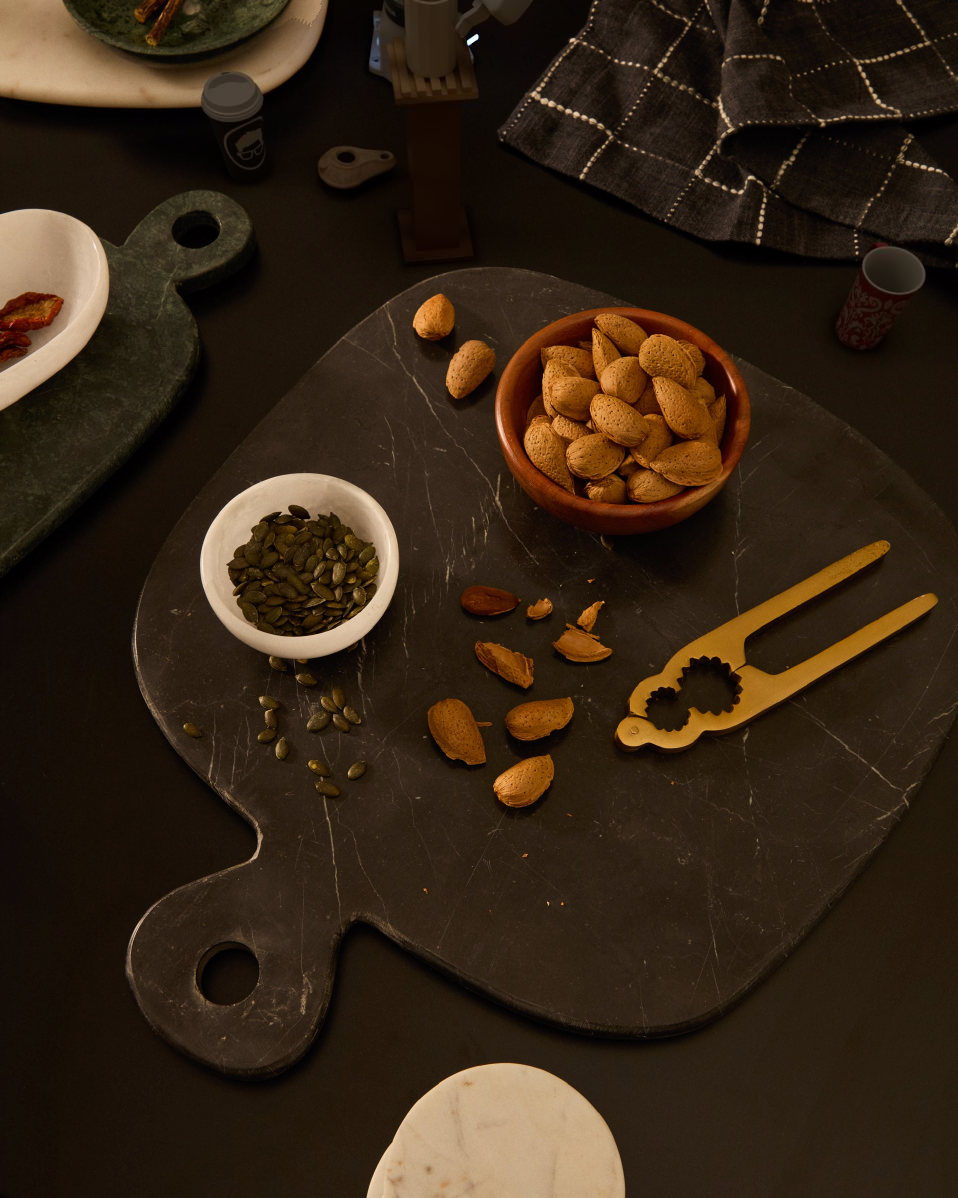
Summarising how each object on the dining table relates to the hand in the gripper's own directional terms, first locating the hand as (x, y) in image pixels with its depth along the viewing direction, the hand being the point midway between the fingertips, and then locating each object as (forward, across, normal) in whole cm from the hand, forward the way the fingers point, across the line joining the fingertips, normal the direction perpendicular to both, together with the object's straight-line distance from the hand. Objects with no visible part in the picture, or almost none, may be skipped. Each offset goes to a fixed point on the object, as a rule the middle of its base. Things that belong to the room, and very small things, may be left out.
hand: (441, 8), depth 124 cm
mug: (-9, +44, +62) cm, 77 cm away
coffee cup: (+43, -27, +10) cm, 52 cm away
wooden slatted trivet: (+6, 0, +4) cm, 8 cm away
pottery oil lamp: (+32, -17, +21) cm, 42 cm away
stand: (+28, 0, +26) cm, 38 cm away
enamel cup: (+6, 0, +4) cm, 7 cm away
